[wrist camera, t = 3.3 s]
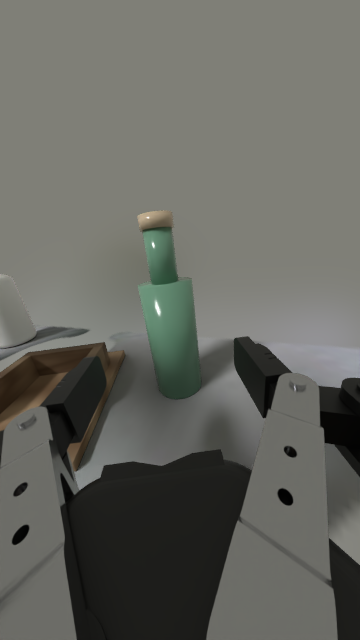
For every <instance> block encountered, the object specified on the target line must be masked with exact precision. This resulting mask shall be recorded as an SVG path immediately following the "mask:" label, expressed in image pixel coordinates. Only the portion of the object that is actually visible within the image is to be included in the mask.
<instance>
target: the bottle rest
mask: <svg viewBox="0 0 360 640" xmlns="http://www.w3.org/2000/svg"><path fill="white" fill-rule="evenodd" d="M94 356H98V357H99V358H100V360H101V363H102V366H103V369H104V373H105V376H106V380H107V385H106V389H105V391H104V393H103V396H102V398H101V400H100V402H99V404H98V407H97V409H96V411H95V413H94V415H93V417H92V420H91V422H90V424H89V426H88V428H87V431H86V433H85V435H84V437H83V439H82V441H81V442H80V443H73V444H70V445H69V447H68V449H67V450H68V452H69V455H70V459H71V463H72V466H73V470H74V471H77V469H78V466H79V464H80V461H81V459H82V457H83V454H84V452H85V450H86V447H87V445H88V442H89V440H90V438H91V435H92V433H93V430H94V428H95V426H96V423H97V421H98V419H99V416H100V414H101V411H102V409H103V407H104V404H105V402H106V400H107V397H108V395H109V392H110V390H111V388H112V385H113V383H114V381H115V378H116V376H117V373H118V371H119V369H120V366H121V364H122V362H123V359H124V357H125V353H124V350H123V351H115V352H107V349H106V345H105V342H103V343H96V344H88V345H81V346H74V347H66V348H58V349H51V350H43V351H36V352H28V353H27V354H25V355H24V356H23V357H21V358H20V359H19V360H17V361H16V362H14V363H13V364H11V365H10V366H9V367H7V368H6V369H4V370H3V371H2V372H0V431H2V430H5V428H6V426H7V425H8V424H9V423H10V422H11V421H12V420H13V419H14V418H15V417H17V416H18V415H19V414H21V413H23V412H25V411H27V410H29V409H31V408H35V407H39V406H40V405H41V404H42V402H43V401H44V400H45V399H46V398H47V396H48V395H49V394H50V393H51V392H52V390H53V389H54V388H56V386H57V384H58V383H59V382H61V380H62V378H63V377H64V376H65V375H66V374H67V373H68V372H69V371H71V370H72V369H73V368H75V367H77V365H78V364H79V363H80V362H81V360H82V359H83V358H86V357H94Z"/></svg>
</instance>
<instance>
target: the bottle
mask: <svg viewBox="0 0 360 640" xmlns="http://www.w3.org/2000/svg"><path fill="white" fill-rule="evenodd" d="M138 223H139V228H140V231H141V232H143V238H144V244H145V250H146V255H147V261H148V267H149V273H150V278H151V281H149V282H145V283H142V284H140V285H138V289H139V293H140V299H141V304H142V308H143V313H144V319H145V323H146V329H147V334H148V339H149V343H150V348H151V353H152V358H153V363H154V368H155V373H156V378H157V383H158V388H159V391H160V392H161V394H162V395H164V396H165V397H168V398H171V399H183V398H187V397H189V396H192V395H193V394H195V393H196V392H197V391H198V390H199V388H200V387H201V382H202V381H201V371H200V361H199V350H198V340H197V330H196V319H195V309H194V299H193V288H192V279H191V278H188V277H178V275H177V267H176V258H175V251H174V243H173V235H172V228H173V227H174V225H173V216H172V212H171V211H152V212H147V213H143V214H140V215H138Z"/></svg>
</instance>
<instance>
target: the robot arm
mask: <svg viewBox="0 0 360 640" xmlns="http://www.w3.org/2000/svg"><path fill="white" fill-rule="evenodd" d="M234 364H235V368H236V371H237V373H238V375H239V376H240V378H241V380H242V382H243V383H244V385H245V387H246V389H247V390H248V392H249V394H250V396H251V398H252V399H253V401H254V403H255V405H256V406H257V408H258V410H259V412H260V414H261V415H262V417H263V418H266V420H265V424H264V428H263V432H262V436H261V439H260V443H259V447H258V451H257V454H256V458H255V462H254V466H253V470H250V469H248V468H246V467H244V466H242V465H240V464H238V463H235V462H232V461H228V460H223V456H222V452H221V449H220V450H212V451H205V452H198V453H192V454H189V455H187V456H185V457H183V458H180V459H178V460H176V461H173V462H171V463H169V464H166V465H164V466H158V465H151V464H145V463H139V462H126V463H119V464H112V465H105V466H104V467H103V471H102V474H101V477H100V478H99V479H97V480H95V481H93V482H91V483H90V484H88V485H87V486H85V487H84V488H82V489H81V490H80V491H79V489H78V485H77V481H76V478H75V474H74V470H73V466H72V463H71V459H70V455H69V452H68V450H67V449H68V447H69V445H70V444H73V443H80V442H81V441H82V439H83V437H84V435H85V433H86V431H87V428H88V426H89V424H90V422H91V420H92V417H93V415H94V413H95V411H96V409H97V407H98V404H99V402H100V400H101V398H102V396H103V393H104V391H105V389H106V385H107V380H106V376H105V373H104V369H103V366H102V363H101V360H100V358H99V357H98V356H94V357H86V358H83V359H82V360H81V362H80V363H79V364H78V365H77V367H75V368H73V369H72V370H71V371H69V372H68V373H67V374H66V375H65V376H64V377H63V378H62V380H61V382H59V383H58V384H57V386H56V388H54V389H53V390H52V392H51V393H50V394H49V395H48V396H47V398H46V399H45V400H44V401H43V402H42V404H41V405H40V406H39V407H35V408H31V409H29V410H27V411H25V412H23V413H21V414H19V415H18V416H17V417H15V418H14V419H13V420H12V421H11V422H10V423H9V424H8V425H7V426H6V428H5V430H2V431H0V640H360V565H359V564H358V563H356V562H355V561H354V560H353V559H352V558H351V557H350V556H349V555H348V554H346V553H345V552H344V551H343V550H342V549H341V548H340V547H339V546H337V545H336V544H335V543H334V542H333V541H332V540H331V539H330V538H329V536H328V513H327V490H326V467H325V444H324V443H329V444H334V445H335V446H336V447H337V449H338V450H339V451H340V453H341V454H342V455H343V456H344V458H345V459H346V460H347V461H348V463H349V464H350V465H351V467H352V468H353V469H354V470H355V472H356V473H357V474H358V475H359V477H360V378H347V379H345V380H343V381H342V385H341V388H334V387H323V386H318V385H317V384H316V382H315V381H313V380H312V379H310V378H309V377H307V376H304V375H301V374H297V373H292V372H291V371H290V370H289V369H288V368H287V367H286V366H285V365H284V364H283V363H282V362H281V361H280V360H279V359H278V358H276V356H275V355H274V354H272V352H271V351H270V350H269V349H268V348H267V347H265V346H263V345H261V344H259V343H258V344H255V343H254V342H253V341H252V340H251V339H250V338H249V337H240V338H235V339H234Z"/></svg>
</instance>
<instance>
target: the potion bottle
mask: <svg viewBox="0 0 360 640" xmlns="http://www.w3.org/2000/svg"><path fill="white" fill-rule="evenodd" d="M36 333H37V332H36V329H35V327H34V325H33V323H32V320H31V318H30V316H29V314H28V311H27V309H26V307H25V304H24V302H23V300H22V297H21V295H20V293H19V291H18V288H17V286H16V284H15V281H14V279H13V278H12V277H10V276H8V275H5V274H0V348H8V347H13V346H17V345H20V344H23V343H25V342H27V341H29V340H31V339H32V338H34V337H35V335H36Z"/></svg>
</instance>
